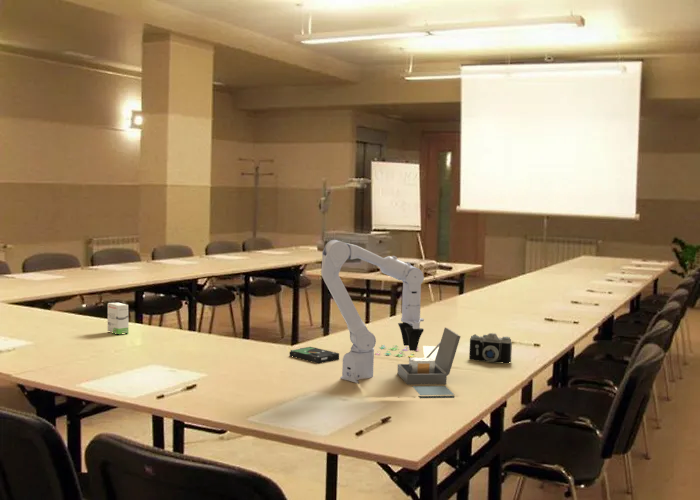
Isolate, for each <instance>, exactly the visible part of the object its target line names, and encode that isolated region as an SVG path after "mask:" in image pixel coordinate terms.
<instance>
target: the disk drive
mask: <svg viewBox="0 0 700 500" xmlns="http://www.w3.org/2000/svg"><path fill="white" fill-rule="evenodd" d="M290 356H293V357H292V358H294V357H297V358H296V359H298V358H301V359H300V360H302V359H304V360H303V361H306V360H308V361H307V362H310V361H312V362H311V363H314V362H315V363H314V364H323V363H326V362H332V361H333V360H334V361H338V360H340V353H338V352H335V351H332V350H326V349H323V348H318V347H313V346H307V347H300V348H297V349H296V348H295V349H290V351H289V357H290ZM322 362H323V363H322Z"/></svg>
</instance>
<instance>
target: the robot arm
mask: <svg viewBox="0 0 700 500" xmlns="http://www.w3.org/2000/svg"><path fill="white" fill-rule="evenodd" d="M321 256H322V258H321V269H320V274H321V277H322V279H323V281H324V283H325V285H326V287H327V289H328V290H329V292H330V294H331V297H332V298H333V301H334V303H335V304H336V306H337V308H338V311H339V313H340V315H341V316H342V318H343V320H344V321H345V323H346V327H347V330H348V332H349V339H350V342H351V343H352V344H351V347H350V350H349V352H345V354H344V355H343V357H342V368H341V369H342V371H341V372H342V373H341V374H342V375H341V376H340V377H339V378H340V379H342V380H345V381H349V382H353V383H355V384H360V381H359V380H363V379H371V378H373V377H374V363H375V362H374V359H375V348H374V347H375V346H376V343H377V339H376V336H375V335H374V333H372V332H371V331H370V330H369V329H368V327H367V325H366V323H365V322H364V321H363V320H362V318H361V316H360V314H359V312H358V310H357V308H356V306H355V304H354V302H353V300H352V298H351V296H350V294H349V292H348V291H347V288H346V287H345V284H344V283H343V281H342V279H341V277H340V275H339V274H340V272H341V270H342V266H343V265H344V264H345V263H346V261H347V260H355V259H359V260H361V261H363V262H366V263H368V264H369V263H370V264H372V265H374V266H377V267H378V268H379V269H380V271H381V273H382V274H383V275H386V276H387V277H391V278H393V279H395V280H397V281H401V282H402V303H401V318H400V321H401V322H398V323H397V324H398V327H399V330H400V332H401V338H402V343H403V346H404V347H408V351H414V352H417V351H418V350H417V349H418V348H417V347H419V342H420V339H421V336H422V334H423V333H424V328H421V322H424V320H425V319H424V318H421V300H422V299H421V297H422V284H423V282H424V279H425V276H424V273H423V271H422V270H421V269H420V268H418V267H415V266H413V265H411V262H409V261H407V262H404V261H402V260H399V259H398V257H397V256H395V255H391V256H390V255H388V256H385V257H383V256H380V255H378V254H376V253H374V252H372V251H370V250H367V249H365V248H363V247H361V246H359V245H356V244H352V243H348V242H344V241H340V240H339V239H331V240H329V241H328V242H327V243H326V244H325V246H324V248H323V250H322V252H321ZM416 350H417V351H416Z"/></svg>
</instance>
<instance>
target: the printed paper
mask: <svg viewBox="0 0 700 500" xmlns="http://www.w3.org/2000/svg"><path fill="white" fill-rule="evenodd" d="M436 346H437V345H436ZM436 346H435V345H431V346H430V345H422V348H423V349H422V350H423V358H426V357H427V356H428V355H429V354H430V353H431V351H432V350H433V349H434V348H435V347H436ZM398 348H400V347H399V346H398V345H393V347H389V350H390V351H388V350H387V351H386V352H385V353H384V355H386V356H389V355H392V352H391V350H392V351H394V352H395V351H397V350H398ZM379 349H381V350H383V349H386V346H385V344H381V346H380V347H379ZM438 349H439V347H438V348H437V349H436V350H435V351H434V352H433V353H432V354H431V355H430V357H429V358H432V359H433V360H434V361H435V359H436V355H437V352H438ZM404 351H405V352H406V351H407V352H408V351H409V348H408V346H404V349H402V350H400V351H399V352H398V353H397V354H396V353H395V354H394V353H393V354H394V355H393V356H395V357H396V356H397V357H398V358H401V357H403V356H406V354H405V353H404ZM415 352H420V347H419V346H418V347H417V350H416V351H415ZM380 355H382V354H381V352H380V351H379V350H378V351H377V352H375V356H380ZM408 357H409V358H416V356H415V353H414V352H411V354H410V355H408V356H407V358H408Z"/></svg>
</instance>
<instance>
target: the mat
mask: <svg viewBox="0 0 700 500" xmlns="http://www.w3.org/2000/svg"><path fill="white" fill-rule="evenodd" d="M412 388H413V389H414V390H415V391H416V392H417V393H418V394H419V395H418V396H417V397H418V398H419V399H455V394H454V392H452V391H451V390H450V389H449V388H448V387H447V385H412Z"/></svg>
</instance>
